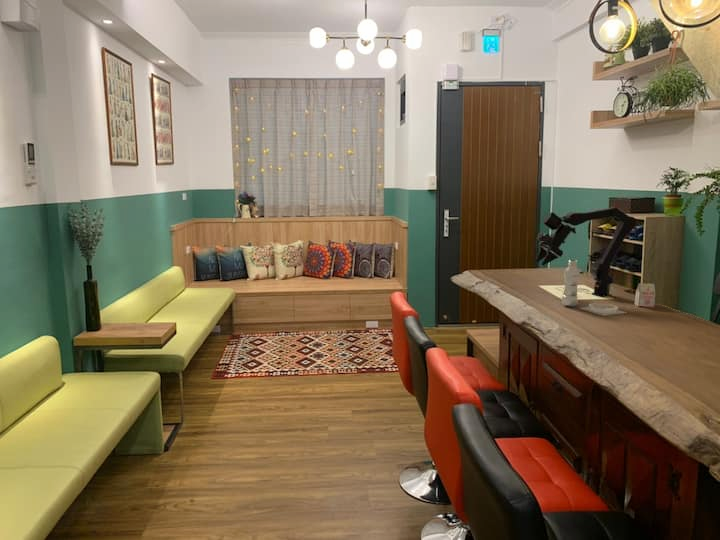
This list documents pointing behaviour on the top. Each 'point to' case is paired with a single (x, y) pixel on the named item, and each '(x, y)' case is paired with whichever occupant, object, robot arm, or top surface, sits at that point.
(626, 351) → the top surface
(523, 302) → the top surface
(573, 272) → the plastic bottle
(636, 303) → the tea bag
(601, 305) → the bottle holder
